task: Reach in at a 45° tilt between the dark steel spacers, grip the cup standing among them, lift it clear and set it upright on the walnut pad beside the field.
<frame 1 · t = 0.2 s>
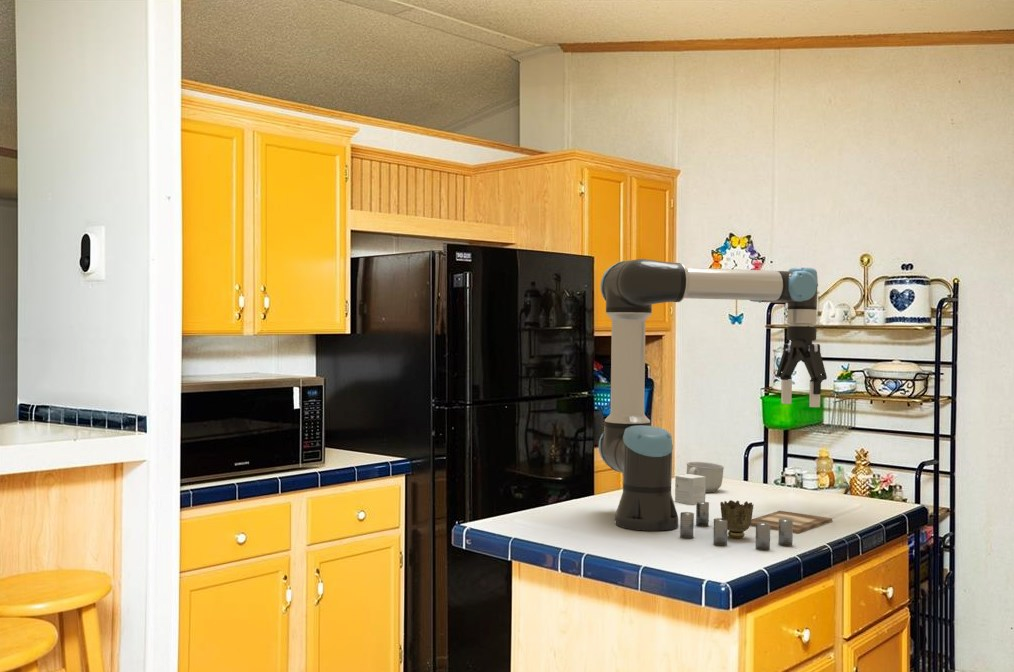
hand: (800, 405, 259), 28 cm above the counter, tool pointing down, fingers open, 13 cm apart
teacup: (701, 492, 285), on the counter
spacer field: (736, 537, 222), on the counter
walnut pad: (788, 523, 240), on the counter
product box: (690, 503, 267), on the counter
cup: (736, 538, 222), on the counter
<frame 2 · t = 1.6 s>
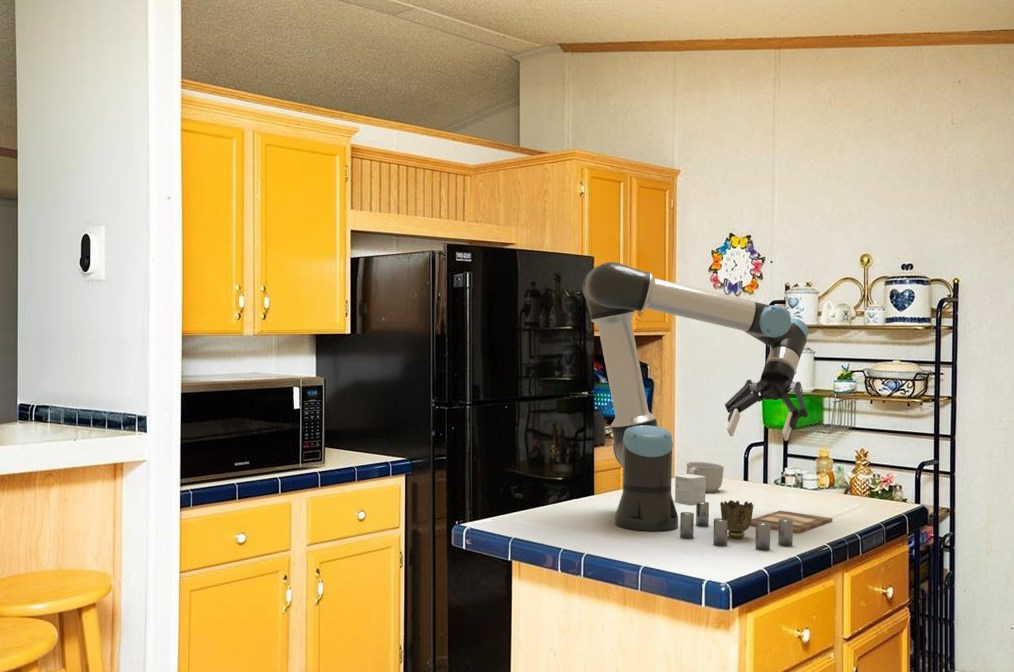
hand: (756, 434, 231), 23 cm above the counter, tool tilted 45°, fingers open, 13 cm apart
nothing on the counter moved.
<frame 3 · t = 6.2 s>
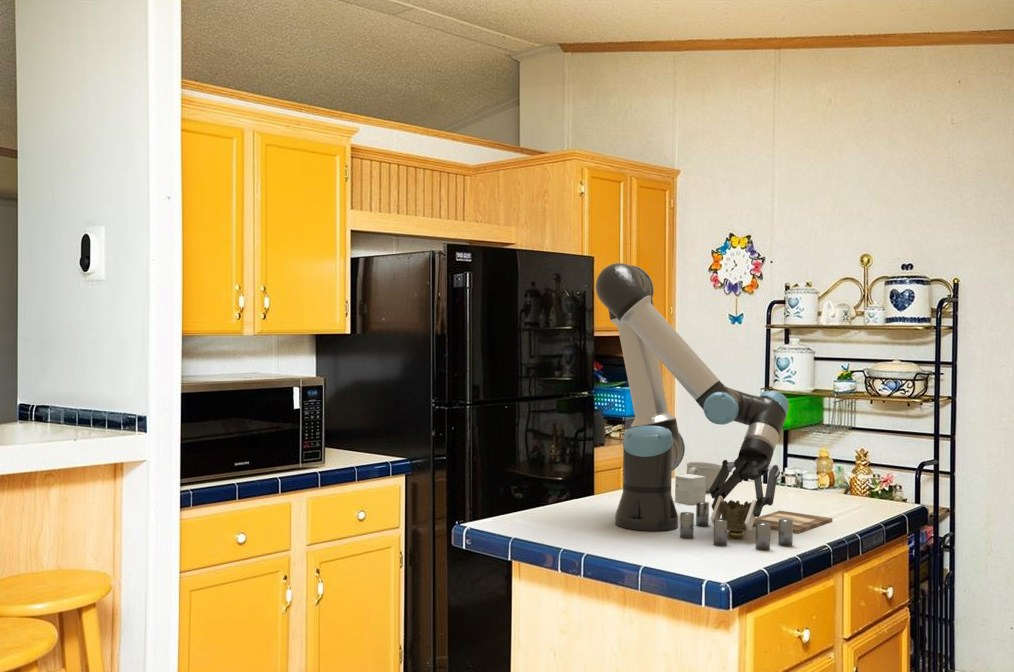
hand: (730, 524, 219), 4 cm above the counter, tool tilted 45°, fingers closed on cup, 7 cm apart
cup: (736, 538, 222), on the counter, touching gripper
everything else where it was.
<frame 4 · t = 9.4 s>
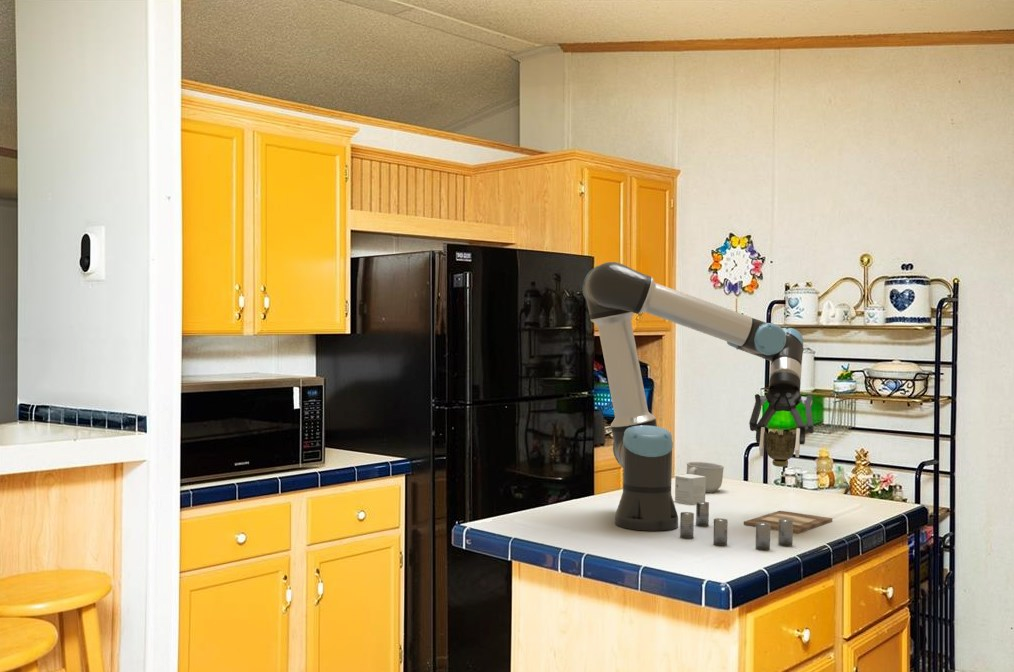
hand: (779, 452, 227), 19 cm above the counter, tool tilted 45°, fingers closed on cup, 7 cm apart
cup: (780, 466, 231), point 15 cm above the counter, touching gripper
everything else where it was.
when the fingers open (6 cm above the counter, at t = 12.6 s): cup drops 1 cm, resting on walnut pad.
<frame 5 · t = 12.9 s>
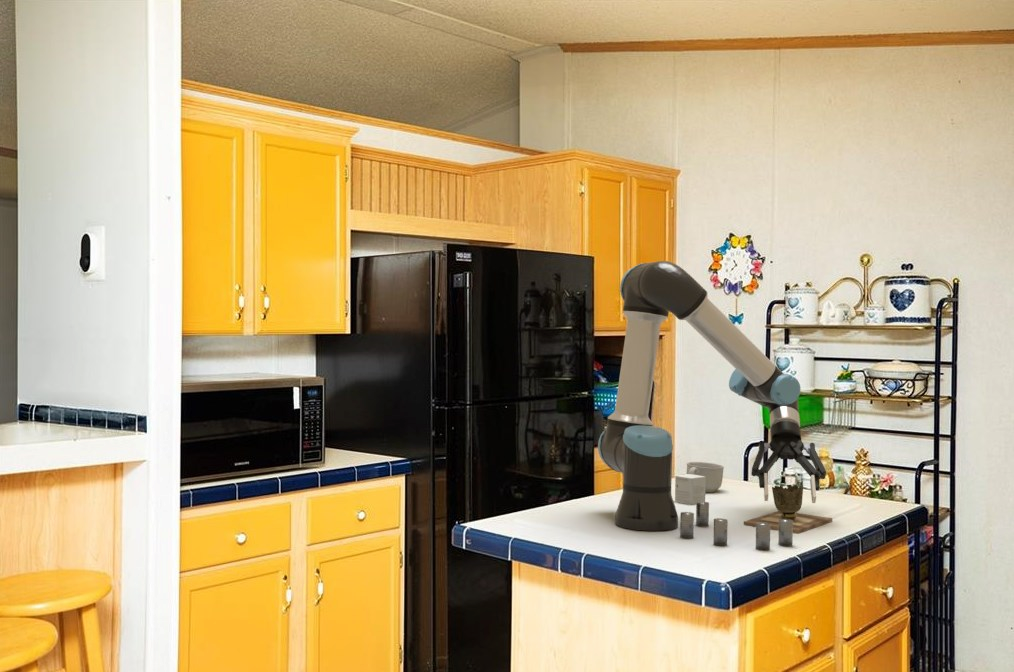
hand: (790, 498, 237), 6 cm above the counter, tool tilted 45°, fingers open, 10 cm apart
cup: (788, 519, 240), point 1 cm above the counter, touching walnut pad
everything else where it was.
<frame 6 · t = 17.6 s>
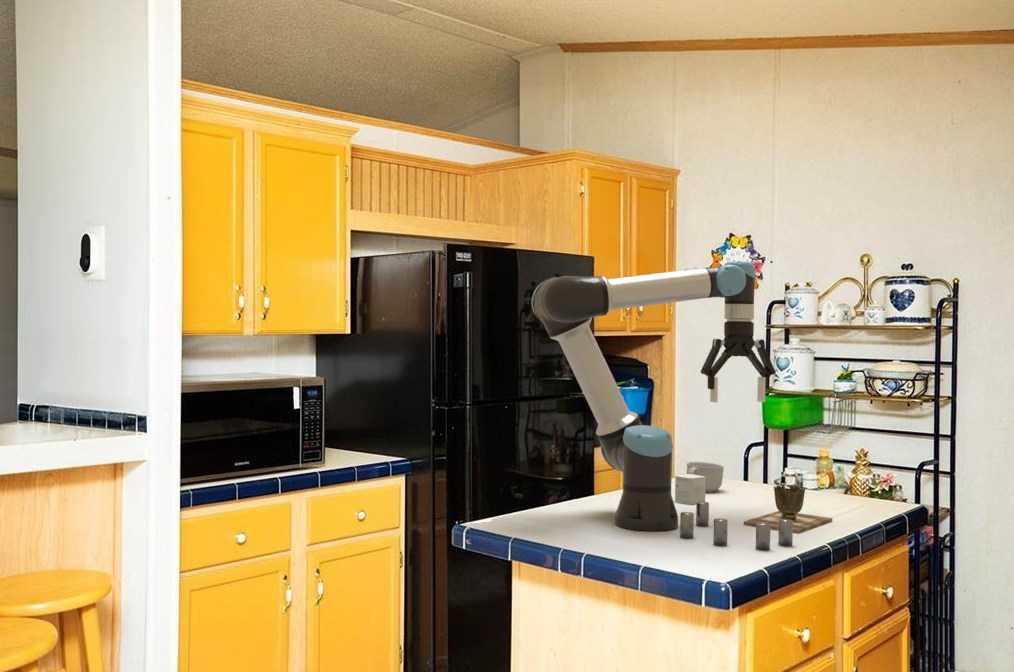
hand: (737, 402, 253), 29 cm above the counter, tool pointing down, fingers open, 13 cm apart
nothing on the counter moved.
at the end: cup inside the target area on the walnut pad (0.0 cm from its centre), point 0.7 cm above the walnut pad's base; cup tilted 0°; the gripper is holding nothing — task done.
